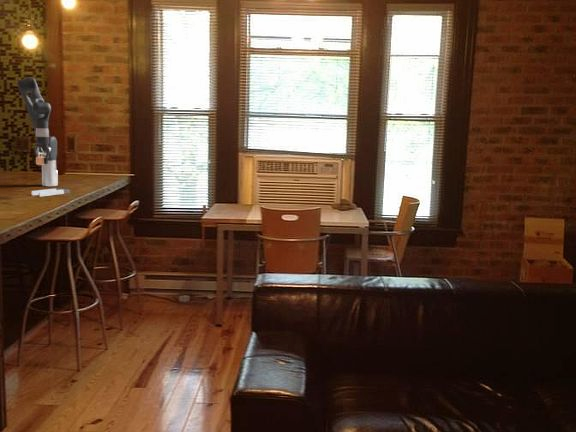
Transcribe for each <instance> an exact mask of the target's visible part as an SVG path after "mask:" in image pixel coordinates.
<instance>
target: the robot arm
mask: <svg viewBox="0 0 576 432" xmlns="http://www.w3.org/2000/svg"><path fill="white" fill-rule="evenodd" d="M17 87H18V90H19V92H20V94H21V97H22V99H23V102H24V104H25V107H26V110H27V112H28V115H29V118H30V122H31V124H32V126H33V129H34V132H35V143H36V144H37V145H36V146H33V150H34V156H35V157H44V164H47V165H41V184H42V185H41V186H43V187H56V186H58V185H59V177H58V176H59V174H58V170H57V155H58V140H57V138H56V137H55V136H50V130H49V118H50V116H51V115H50V114H51V111H52V106H51V104H50V103H49V102H45V99H44V98H43V96H42V95H41V92H40V88H39V86H38V83H37V81H36V79H35V78H34V77H33V76H29V77H26V78H25V77H24V78H22V79H18V80H17ZM28 94H29V95H28Z"/></svg>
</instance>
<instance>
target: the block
mask: <svg viewBox="0 0 576 432" xmlns="http://www.w3.org/2000/svg"><path fill="white" fill-rule="evenodd" d="M35 165H37V166H42V165H47V164H44V157H37V156H35Z"/></svg>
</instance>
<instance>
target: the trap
mask: <svg viewBox="0 0 576 432" xmlns="http://www.w3.org/2000/svg"><path fill="white" fill-rule="evenodd" d="M56 190H64V194H71V189H67V188H56ZM64 194H63V195H64Z"/></svg>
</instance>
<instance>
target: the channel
mask: <svg viewBox="0 0 576 432" xmlns="http://www.w3.org/2000/svg"><path fill="white" fill-rule="evenodd" d="M56 189H57V188H56V187H55V188H48V189H47V188H46V189H38V190H31V196H38V197H42V198H43V197H46V196H47V197H49V196H55V195H56V196H57V195H64V190H56Z"/></svg>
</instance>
